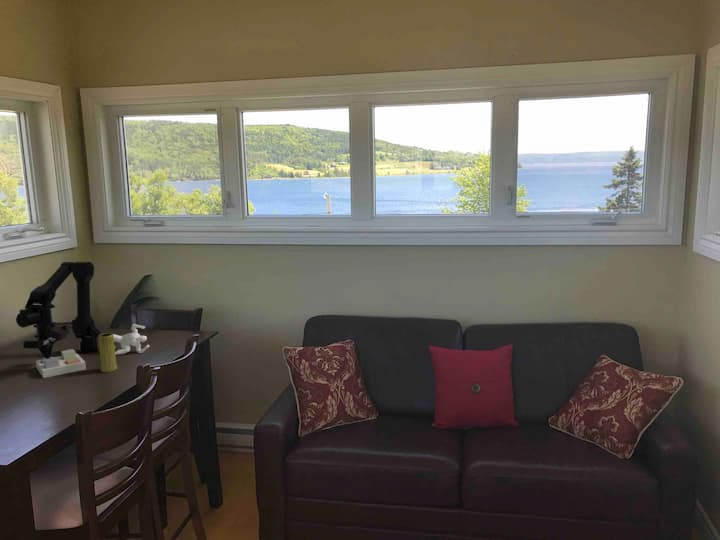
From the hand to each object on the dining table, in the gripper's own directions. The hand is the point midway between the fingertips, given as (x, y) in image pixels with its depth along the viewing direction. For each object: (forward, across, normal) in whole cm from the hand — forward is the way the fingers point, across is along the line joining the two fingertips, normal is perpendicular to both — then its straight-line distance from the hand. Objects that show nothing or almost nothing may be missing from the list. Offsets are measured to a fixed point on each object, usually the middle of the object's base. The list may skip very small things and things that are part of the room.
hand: (48, 359), depth 224 cm
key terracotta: (+3, 0, -11) cm, 11 cm away
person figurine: (+4, +23, -21) cm, 31 cm away
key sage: (+1, +5, -5) cm, 8 cm away
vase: (+4, 0, -25) cm, 26 cm away
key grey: (+1, -5, -5) cm, 8 cm away
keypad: (+4, 0, -5) cm, 7 cm away
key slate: (+3, 0, 0) cm, 3 cm away
